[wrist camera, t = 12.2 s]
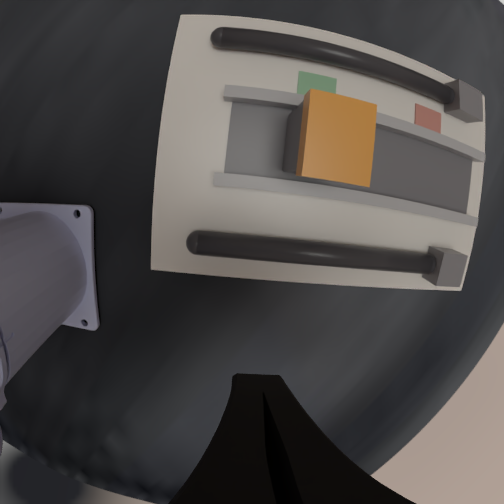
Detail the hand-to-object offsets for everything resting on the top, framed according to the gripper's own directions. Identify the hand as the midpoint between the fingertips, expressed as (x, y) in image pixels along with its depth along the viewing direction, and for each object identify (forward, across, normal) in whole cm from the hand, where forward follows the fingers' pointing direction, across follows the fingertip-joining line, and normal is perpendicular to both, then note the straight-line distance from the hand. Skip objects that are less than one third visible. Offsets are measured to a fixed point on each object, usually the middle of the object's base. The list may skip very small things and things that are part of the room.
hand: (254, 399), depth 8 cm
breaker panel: (+9, -5, -8) cm, 13 cm away
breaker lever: (+8, -2, -8) cm, 11 cm away
